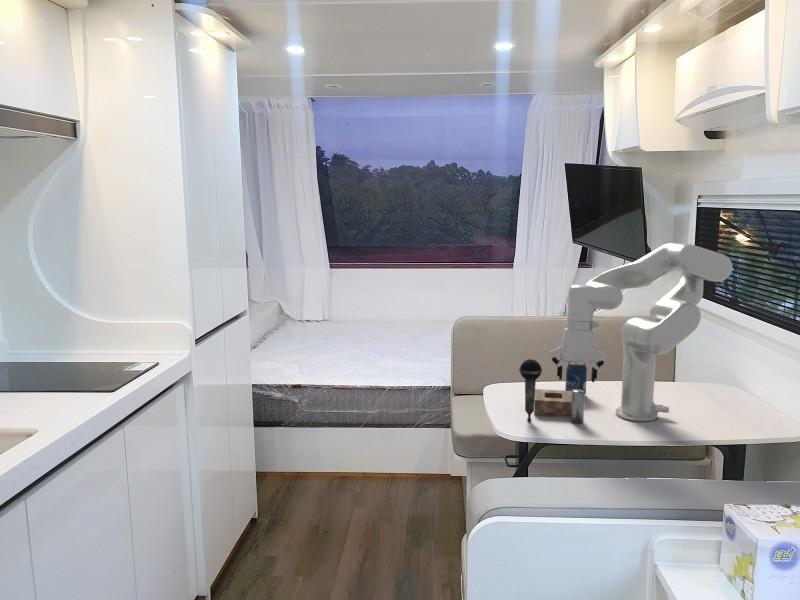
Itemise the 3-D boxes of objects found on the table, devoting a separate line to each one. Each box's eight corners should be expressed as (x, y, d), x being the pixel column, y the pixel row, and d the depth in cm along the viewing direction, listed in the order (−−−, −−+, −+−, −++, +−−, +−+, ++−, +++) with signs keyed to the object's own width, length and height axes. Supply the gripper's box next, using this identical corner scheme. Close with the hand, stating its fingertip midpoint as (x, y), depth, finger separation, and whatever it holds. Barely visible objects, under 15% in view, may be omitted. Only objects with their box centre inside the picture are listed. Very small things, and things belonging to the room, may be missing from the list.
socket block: (570, 405, 213) (571, 391, 213) (572, 417, 202) (573, 402, 201) (534, 403, 216) (534, 389, 215) (534, 414, 204) (534, 400, 204)
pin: (582, 420, 199) (584, 389, 198) (583, 424, 196) (585, 393, 194) (569, 419, 200) (570, 388, 199) (570, 423, 196) (571, 392, 195)
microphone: (540, 418, 201) (542, 357, 198) (540, 426, 194) (542, 363, 191) (518, 417, 202) (519, 356, 199) (517, 424, 196) (519, 361, 192)
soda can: (561, 396, 223) (562, 363, 221) (570, 391, 228) (571, 359, 227) (580, 400, 219) (581, 366, 217) (588, 395, 224) (590, 362, 222)
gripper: (608, 324, 195) (604, 378, 197) (550, 321, 198) (547, 374, 201) (611, 329, 187) (607, 385, 190) (550, 325, 191) (547, 381, 194)
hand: (576, 379), depth 195 cm, fingers open, 9 cm apart
